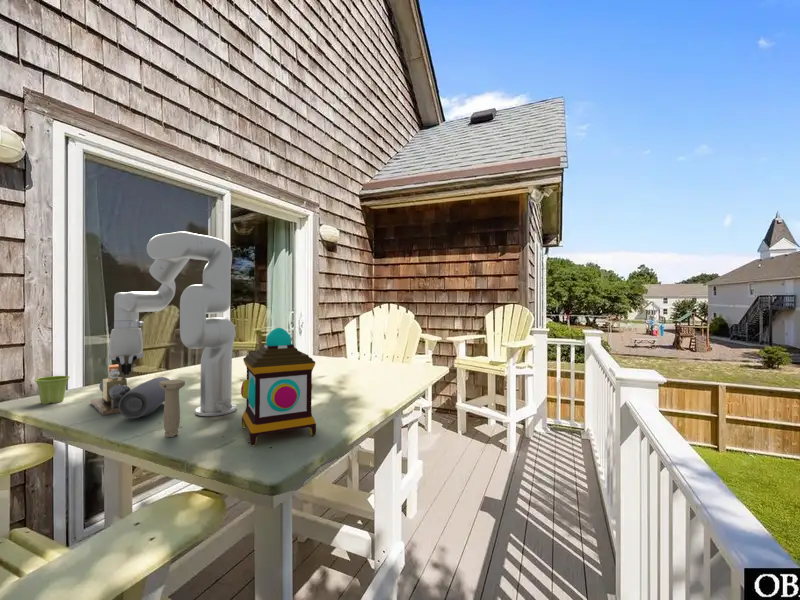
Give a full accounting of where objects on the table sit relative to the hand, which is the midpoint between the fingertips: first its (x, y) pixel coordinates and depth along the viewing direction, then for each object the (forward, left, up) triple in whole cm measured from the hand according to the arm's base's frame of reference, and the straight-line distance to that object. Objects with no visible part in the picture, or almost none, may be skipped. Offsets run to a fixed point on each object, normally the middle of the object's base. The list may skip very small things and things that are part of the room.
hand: (126, 374), depth 144 cm
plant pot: (+15, +19, -10) cm, 26 cm away
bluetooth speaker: (-24, -1, -10) cm, 26 cm away
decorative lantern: (-72, -21, -10) cm, 76 cm away
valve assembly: (-8, +5, -10) cm, 14 cm away
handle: (-54, +1, -10) cm, 55 cm away
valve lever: (-3, +4, +1) cm, 5 cm away
